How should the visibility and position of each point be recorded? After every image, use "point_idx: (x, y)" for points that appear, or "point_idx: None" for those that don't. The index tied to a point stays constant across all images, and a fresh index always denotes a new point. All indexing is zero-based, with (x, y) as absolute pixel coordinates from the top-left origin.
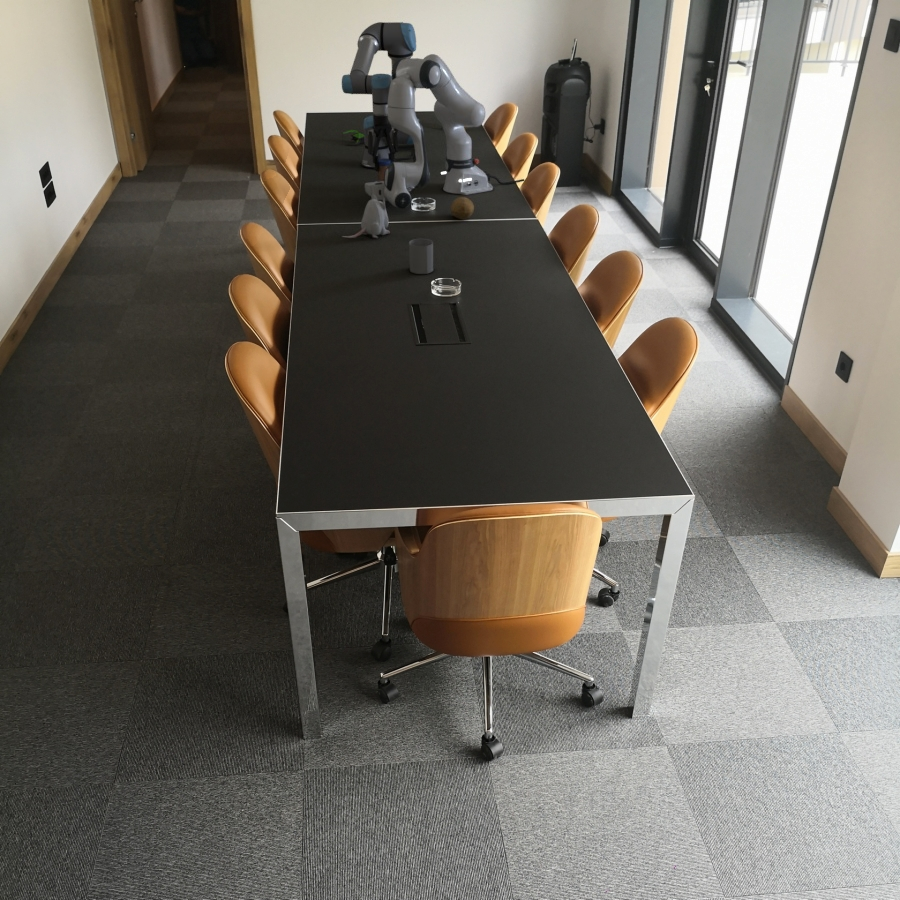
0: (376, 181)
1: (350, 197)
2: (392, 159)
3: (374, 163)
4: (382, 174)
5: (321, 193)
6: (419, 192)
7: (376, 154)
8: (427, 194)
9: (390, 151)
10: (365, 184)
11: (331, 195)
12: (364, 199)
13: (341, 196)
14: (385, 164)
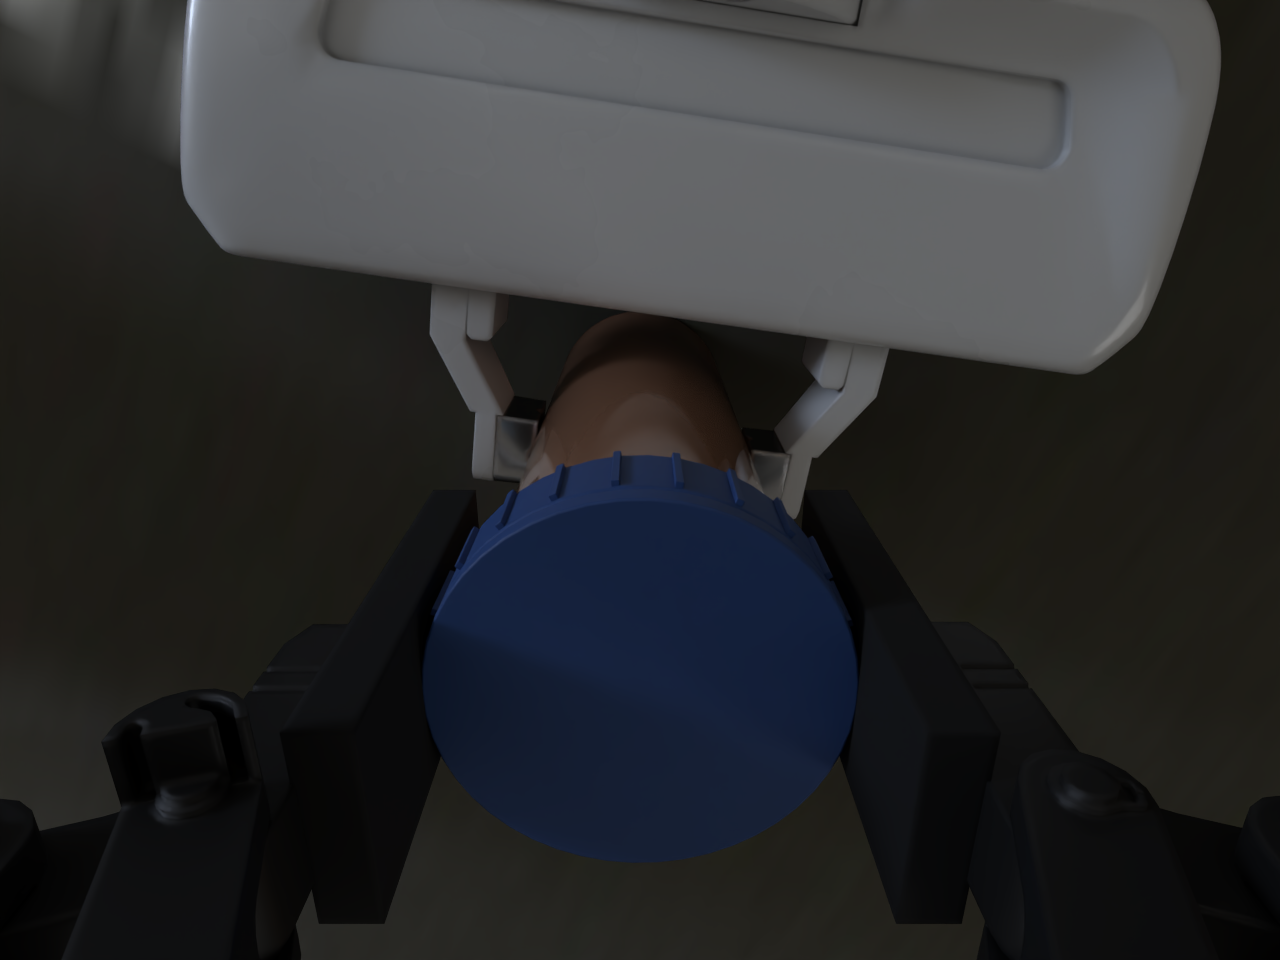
0: (801, 467)
1: (1037, 561)
2: (356, 623)
3: (967, 628)
4: (726, 434)
5: (1214, 815)
6: (121, 366)
7: (1037, 800)
8: (23, 221)
9: (281, 944)
10: (1156, 282)
11: (1172, 716)
12: (934, 408)
13: (1102, 639)
14: (677, 461)
